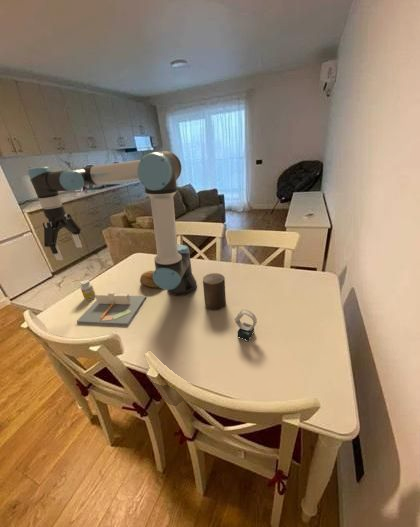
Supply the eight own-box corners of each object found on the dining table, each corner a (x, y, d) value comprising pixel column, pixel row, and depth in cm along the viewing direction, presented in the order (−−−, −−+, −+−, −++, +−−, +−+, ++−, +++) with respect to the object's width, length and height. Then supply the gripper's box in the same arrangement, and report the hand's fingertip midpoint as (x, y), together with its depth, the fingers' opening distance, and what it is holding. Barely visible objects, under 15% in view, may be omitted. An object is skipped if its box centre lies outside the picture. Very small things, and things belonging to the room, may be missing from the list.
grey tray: (146, 298, 117) (145, 295, 117) (128, 325, 100) (127, 323, 99) (102, 296, 121) (101, 294, 121) (77, 323, 104) (76, 320, 103)
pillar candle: (224, 311, 104) (222, 281, 97) (202, 309, 106) (199, 280, 99) (227, 298, 112) (226, 270, 106) (207, 297, 114) (204, 269, 108)
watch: (239, 327, 94) (238, 304, 89) (258, 333, 90) (259, 310, 85) (232, 336, 90) (232, 313, 85) (252, 343, 86) (253, 319, 81)
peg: (131, 301, 113) (128, 291, 110) (118, 319, 101) (115, 308, 99) (100, 300, 115) (97, 290, 113) (84, 317, 104) (80, 307, 102)
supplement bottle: (95, 299, 120) (89, 283, 115) (84, 301, 118) (77, 285, 114) (96, 293, 124) (91, 278, 120) (85, 296, 123) (79, 280, 119)
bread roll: (159, 292, 121) (156, 279, 118) (136, 287, 127) (133, 274, 124) (169, 283, 129) (167, 270, 125) (147, 278, 135) (144, 266, 131)
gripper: (64, 200, 110) (79, 243, 120) (19, 215, 88) (42, 265, 98) (79, 199, 109) (93, 242, 119) (37, 214, 87) (58, 265, 97)
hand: (70, 253), depth 108 cm, fingers open, 13 cm apart
